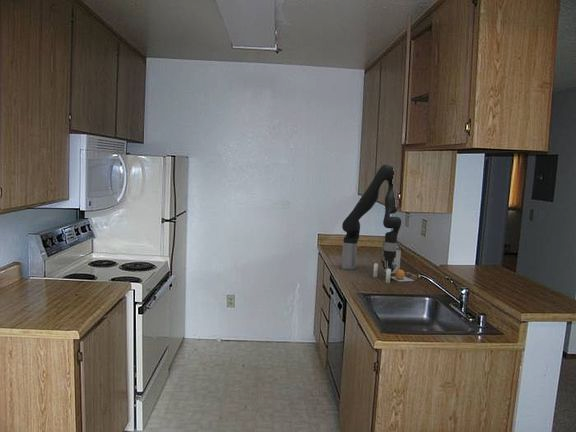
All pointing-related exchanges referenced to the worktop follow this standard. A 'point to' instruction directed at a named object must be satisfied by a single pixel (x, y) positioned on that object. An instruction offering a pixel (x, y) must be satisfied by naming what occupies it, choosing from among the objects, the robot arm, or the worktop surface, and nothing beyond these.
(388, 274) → the right post
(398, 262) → the milk carton
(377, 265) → the left post
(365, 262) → the worktop surface
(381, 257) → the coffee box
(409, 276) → the backstop strip
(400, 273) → the ball
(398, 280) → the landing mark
